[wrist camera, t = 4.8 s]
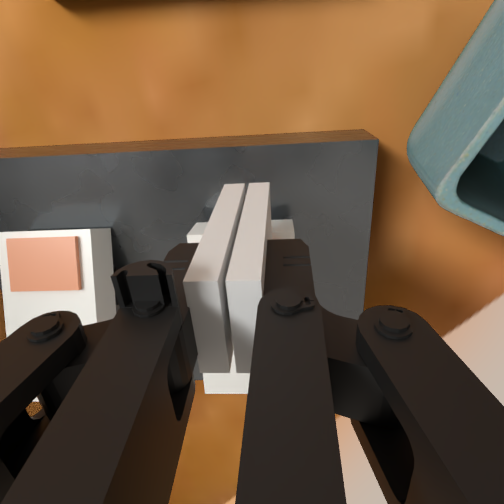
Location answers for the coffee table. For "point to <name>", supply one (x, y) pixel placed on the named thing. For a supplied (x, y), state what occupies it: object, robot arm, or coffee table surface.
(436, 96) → the flower pot
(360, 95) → the coffee table surface
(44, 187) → the breaker panel
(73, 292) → the block
